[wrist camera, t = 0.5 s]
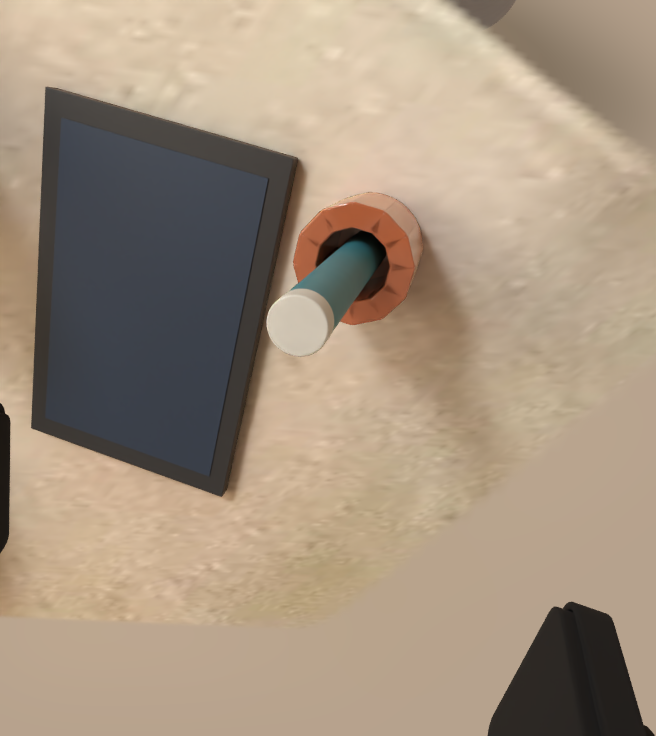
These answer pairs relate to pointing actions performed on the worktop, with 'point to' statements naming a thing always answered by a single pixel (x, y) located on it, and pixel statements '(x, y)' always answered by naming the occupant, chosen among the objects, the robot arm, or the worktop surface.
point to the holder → (388, 226)
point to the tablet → (151, 285)
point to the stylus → (323, 296)
